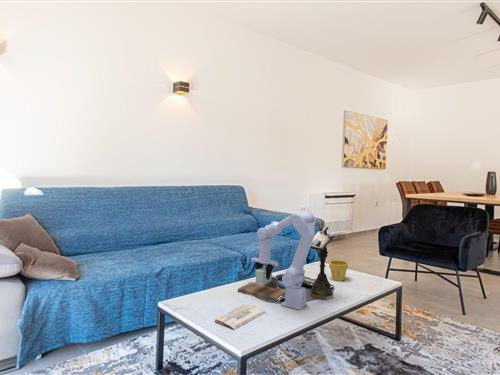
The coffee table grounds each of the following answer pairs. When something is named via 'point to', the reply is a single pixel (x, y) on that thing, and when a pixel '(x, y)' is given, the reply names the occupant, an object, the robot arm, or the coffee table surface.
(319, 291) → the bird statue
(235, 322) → the newspaper
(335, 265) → the plant pot
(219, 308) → the coffee table surface
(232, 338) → the coffee table surface
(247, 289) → the shelf board
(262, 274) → the pale green rectangular block
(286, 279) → the robot arm
